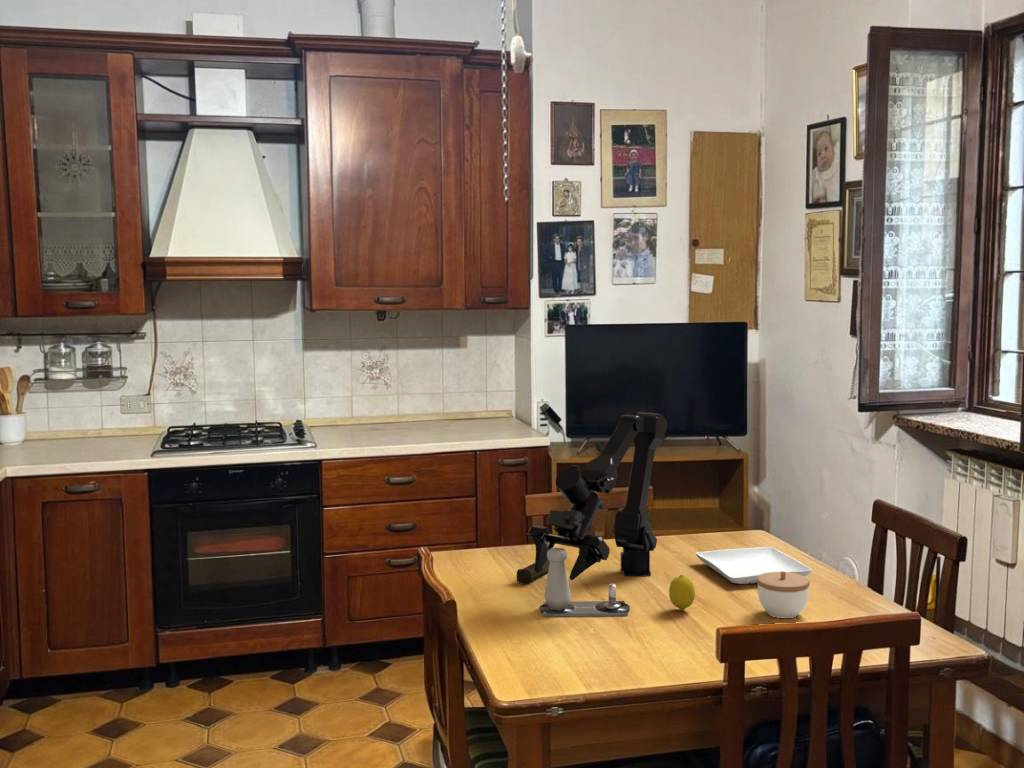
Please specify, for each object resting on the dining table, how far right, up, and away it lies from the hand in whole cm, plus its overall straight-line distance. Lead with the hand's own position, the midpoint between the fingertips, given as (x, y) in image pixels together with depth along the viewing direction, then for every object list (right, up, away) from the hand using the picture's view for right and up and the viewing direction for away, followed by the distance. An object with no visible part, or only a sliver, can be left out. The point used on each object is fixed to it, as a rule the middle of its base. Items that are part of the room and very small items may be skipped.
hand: (553, 575), depth 224 cm
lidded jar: (+49, -8, -3) cm, 50 cm away
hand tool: (-2, -5, +29) cm, 30 cm away
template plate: (+7, -8, +2) cm, 11 cm away
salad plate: (+49, -5, +27) cm, 57 cm away
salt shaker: (+1, -8, +2) cm, 8 cm away
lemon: (+28, -8, +1) cm, 29 cm away
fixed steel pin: (+13, -8, +2) cm, 15 cm away
